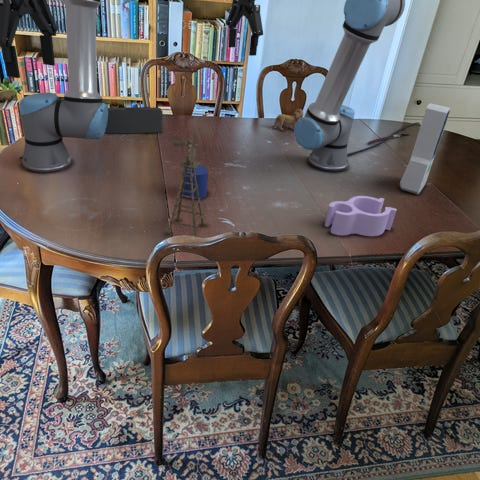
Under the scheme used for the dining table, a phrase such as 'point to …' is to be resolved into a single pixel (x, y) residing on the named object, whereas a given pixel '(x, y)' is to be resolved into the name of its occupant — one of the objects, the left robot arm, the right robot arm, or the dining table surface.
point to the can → (201, 182)
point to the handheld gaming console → (134, 120)
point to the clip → (359, 216)
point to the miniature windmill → (187, 165)
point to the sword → (385, 138)
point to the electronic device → (425, 148)
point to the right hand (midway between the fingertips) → (241, 51)
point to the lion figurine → (289, 119)
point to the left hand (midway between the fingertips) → (32, 70)
